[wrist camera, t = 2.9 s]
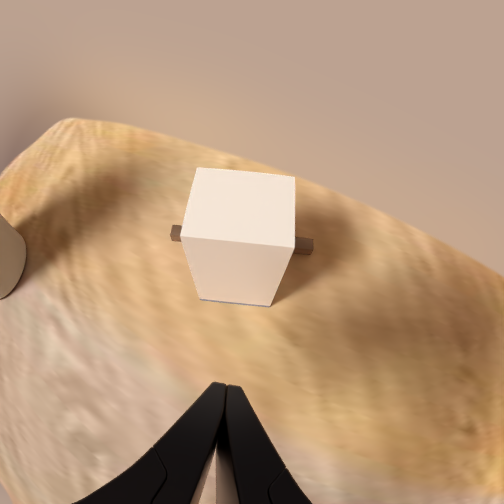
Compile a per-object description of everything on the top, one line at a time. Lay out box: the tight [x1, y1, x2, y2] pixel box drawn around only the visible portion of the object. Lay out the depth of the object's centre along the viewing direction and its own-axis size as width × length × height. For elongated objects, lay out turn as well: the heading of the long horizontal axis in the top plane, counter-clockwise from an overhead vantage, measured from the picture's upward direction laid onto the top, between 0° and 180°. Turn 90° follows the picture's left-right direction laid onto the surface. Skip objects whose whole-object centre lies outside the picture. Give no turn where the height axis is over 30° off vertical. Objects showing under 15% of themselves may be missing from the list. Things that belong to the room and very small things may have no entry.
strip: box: [170, 225, 313, 255], centre depth 25 cm, size 1×12×1 cm, turn 85°
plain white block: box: [180, 167, 295, 307], centre depth 19 cm, size 4×6×10 cm
